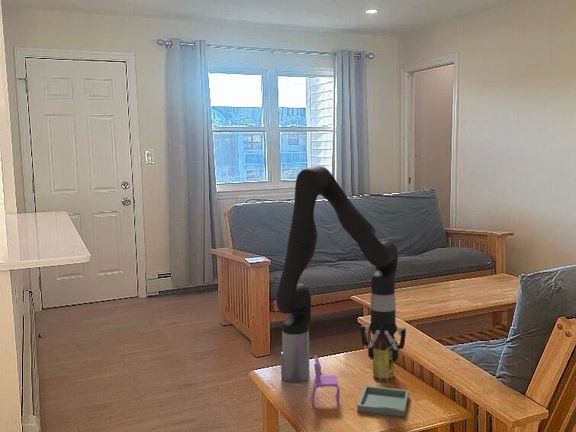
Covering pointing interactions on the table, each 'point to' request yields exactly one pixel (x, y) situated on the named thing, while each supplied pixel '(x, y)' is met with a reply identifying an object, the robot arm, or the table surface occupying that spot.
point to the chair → (323, 381)
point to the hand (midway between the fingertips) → (383, 359)
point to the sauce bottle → (382, 358)
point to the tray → (383, 401)
